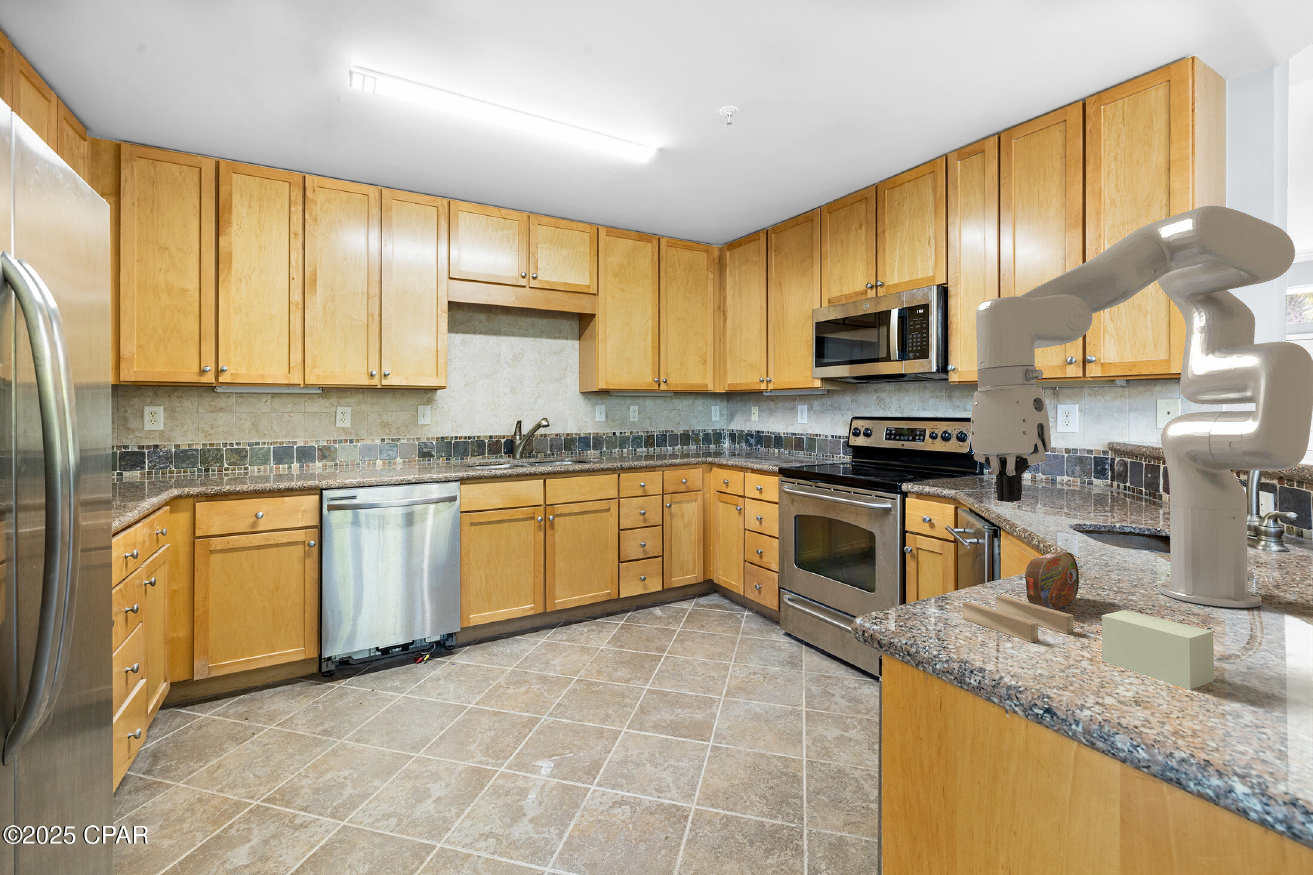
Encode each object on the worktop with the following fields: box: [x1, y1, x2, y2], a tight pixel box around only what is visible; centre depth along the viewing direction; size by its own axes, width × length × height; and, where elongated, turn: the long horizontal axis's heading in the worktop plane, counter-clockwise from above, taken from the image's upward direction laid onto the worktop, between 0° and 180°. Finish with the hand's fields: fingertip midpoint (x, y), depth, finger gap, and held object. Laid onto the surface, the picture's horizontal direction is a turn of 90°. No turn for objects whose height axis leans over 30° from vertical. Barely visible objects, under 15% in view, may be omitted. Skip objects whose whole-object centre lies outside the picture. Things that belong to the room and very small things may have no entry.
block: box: [1101, 609, 1215, 691], centre depth 70 cm, size 5×9×6 cm, turn 23°
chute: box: [962, 595, 1075, 643], centre depth 87 cm, size 9×11×2 cm
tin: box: [1024, 551, 1080, 611], centre depth 97 cm, size 15×3×8 cm, turn 125°
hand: (1009, 500), depth 88 cm, fingers closed
